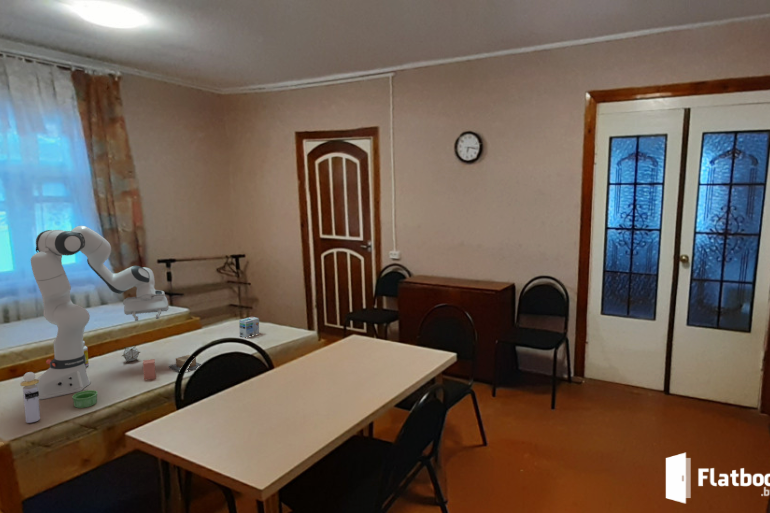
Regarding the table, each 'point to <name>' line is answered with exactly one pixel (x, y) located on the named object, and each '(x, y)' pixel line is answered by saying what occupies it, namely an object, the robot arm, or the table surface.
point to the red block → (149, 369)
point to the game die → (131, 354)
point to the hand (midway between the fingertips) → (147, 319)
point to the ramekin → (85, 398)
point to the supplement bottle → (85, 354)
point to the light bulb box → (249, 326)
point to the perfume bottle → (31, 397)
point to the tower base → (181, 361)
